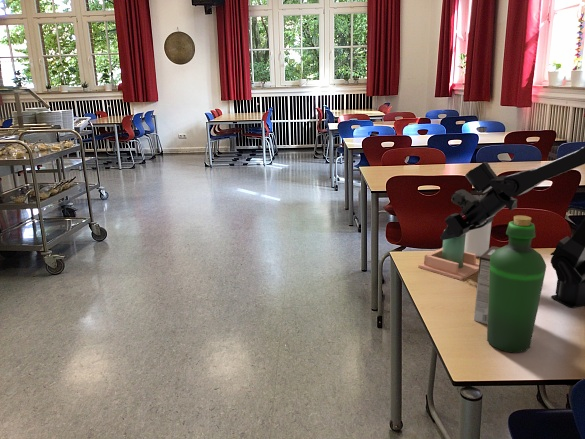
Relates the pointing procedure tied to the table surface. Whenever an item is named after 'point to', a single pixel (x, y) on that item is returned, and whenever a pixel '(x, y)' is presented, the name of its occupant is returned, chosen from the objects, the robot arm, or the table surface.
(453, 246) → the bottle
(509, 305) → the bottle
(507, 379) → the table surface
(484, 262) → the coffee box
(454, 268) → the u rest
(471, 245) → the pill bottle
